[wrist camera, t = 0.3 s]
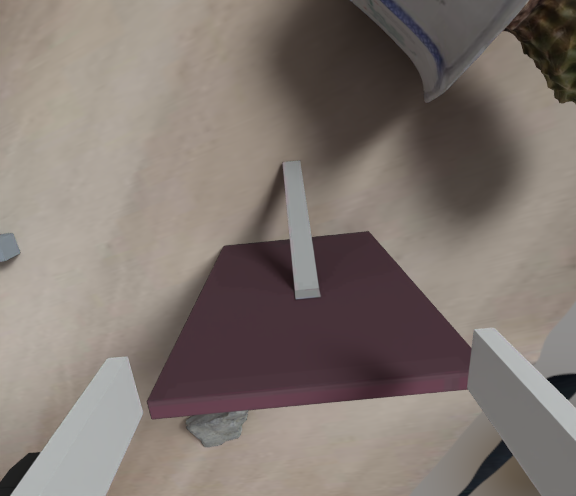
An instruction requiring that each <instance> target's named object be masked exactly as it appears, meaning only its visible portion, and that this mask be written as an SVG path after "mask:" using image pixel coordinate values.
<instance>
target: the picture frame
mask: <svg viewBox="0 0 576 496" xmlns="http://www.w3.org/2000/svg"><path fill="white" fill-rule="evenodd" d="M283 173H284V183H285V194H286V204H287V215H288V225H289V235H290V239H288V240H278V241H268V242H258V243H248V244H238V245H228V246H224V247H223V249H222V251H221V253H220V255H219V257H218V259H217V261H216V263H215V265H214V267H213V269H212V271H211V273H210V275H209V277H208V279H207V281H206V283H205V285H204V287H203V289H202V291H201V293H200V295H199V297H198V299H197V301H196V303H195V305H194V307H193V309H192V311H191V313H190V315H189V317H188V319H187V321H186V323H185V325H184V327H183V329H182V331H181V333H180V335H179V337H178V339H177V342H176V344H175V346H174V348H173V350H172V352H171V354H170V356H169V358H168V360H167V362H166V364H165V366H164V368H163V370H162V372H161V374H160V376H159V378H158V380H157V382H156V384H155V386H154V388H153V390H152V392H151V394H150V396H149V398H148V400H147V404H148V408H149V412H150V415H151V419H162V418H172V417H183V416H193V415H204V414H214V413H225V412H235V411H246V410H257V409H267V408H278V407H288V406H299V405H309V404H320V403H330V402H341V401H352V400H362V399H373V398H383V397H394V396H404V395H415V394H425V393H436V392H446V391H457V390H468V389H467V384H468V375H469V367H470V358H471V350H472V348H471V347H470V346H469V345H468V344H467V343H466V341H465V340H464V339H463V338H462V337H461V336H460V335H459V333H458V332H457V331H456V330H455V329H454V328H453V327H452V325H451V324H450V323H449V322H448V321H447V320H446V319H445V318H444V316H443V315H442V314H441V313H440V312H439V311H438V310H437V308H436V307H435V306H434V305H433V304H432V303H431V302H430V300H429V299H428V298H427V297H426V296H425V295H424V294H423V292H422V291H421V290H420V289H419V288H418V287H417V286H416V285H415V283H414V282H413V281H412V280H411V279H410V278H409V277H408V275H407V274H406V273H405V272H404V271H403V270H402V269H401V267H400V266H399V265H398V264H397V263H396V262H395V261H394V259H393V258H392V257H391V256H390V255H389V254H388V253H387V251H386V250H385V249H384V248H383V247H382V246H381V245H380V244H379V242H378V241H377V240H376V239H375V238H374V237H373V236H372V234H371V233H370V232H369V231H367V232H357V233H347V234H338V235H328V236H318V237H311V230H310V223H309V216H308V210H307V203H306V197H305V190H304V183H303V177H302V170H301V163H300V160H299V161H290V162H283Z"/></svg>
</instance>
